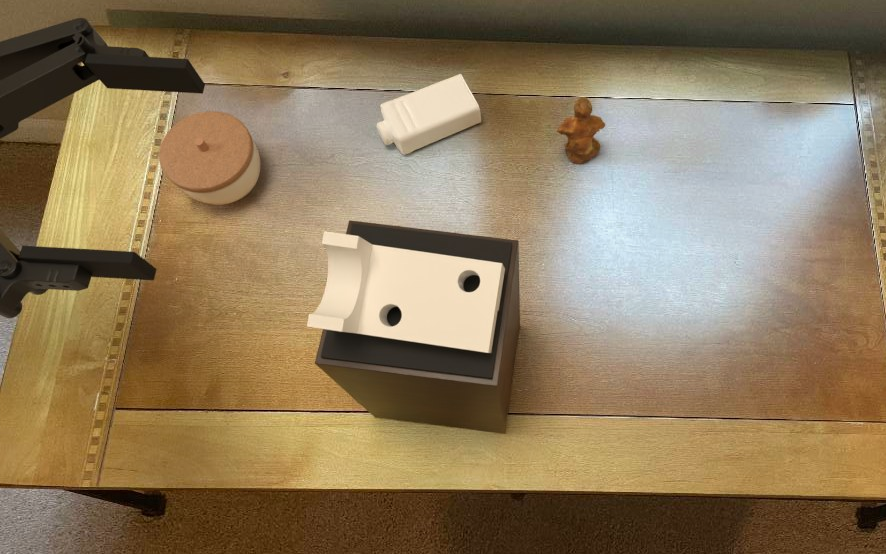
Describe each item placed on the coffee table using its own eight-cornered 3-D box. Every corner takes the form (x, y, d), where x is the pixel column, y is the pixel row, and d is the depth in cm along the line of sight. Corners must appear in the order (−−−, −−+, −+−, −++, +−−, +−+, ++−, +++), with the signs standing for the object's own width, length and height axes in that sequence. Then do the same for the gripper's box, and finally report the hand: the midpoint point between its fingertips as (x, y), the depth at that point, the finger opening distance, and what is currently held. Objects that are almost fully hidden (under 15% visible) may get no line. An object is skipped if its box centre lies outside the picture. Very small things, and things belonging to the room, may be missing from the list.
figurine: (559, 135, 95) (563, 79, 84) (601, 141, 95) (612, 86, 84) (554, 164, 94) (558, 112, 82) (597, 171, 93) (607, 119, 82)
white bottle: (373, 124, 95) (367, 106, 91) (461, 88, 97) (459, 69, 93) (392, 163, 93) (386, 146, 89) (482, 125, 95) (480, 107, 91)
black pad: (492, 379, 58) (492, 378, 57) (321, 358, 58) (320, 356, 58) (512, 244, 62) (512, 242, 62) (353, 225, 62) (352, 223, 62)
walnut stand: (505, 434, 81) (497, 386, 58) (374, 417, 81) (314, 363, 58) (520, 325, 86) (518, 240, 62) (396, 309, 86) (348, 219, 63)
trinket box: (171, 203, 90) (133, 166, 82) (212, 134, 94) (179, 91, 85) (248, 228, 89) (218, 193, 81) (286, 158, 93) (261, 117, 84)
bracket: (337, 330, 59) (306, 326, 52) (352, 246, 60) (324, 231, 53) (492, 353, 59) (483, 352, 51) (505, 268, 60) (498, 256, 52)
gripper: (-52, 28, 53) (234, 44, 53) (-193, 355, 44) (151, 374, 44) (-140, -51, 46) (190, -33, 46) (-329, 318, 37) (81, 340, 37)
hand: (172, 166), depth 45 cm, fingers open, 13 cm apart
